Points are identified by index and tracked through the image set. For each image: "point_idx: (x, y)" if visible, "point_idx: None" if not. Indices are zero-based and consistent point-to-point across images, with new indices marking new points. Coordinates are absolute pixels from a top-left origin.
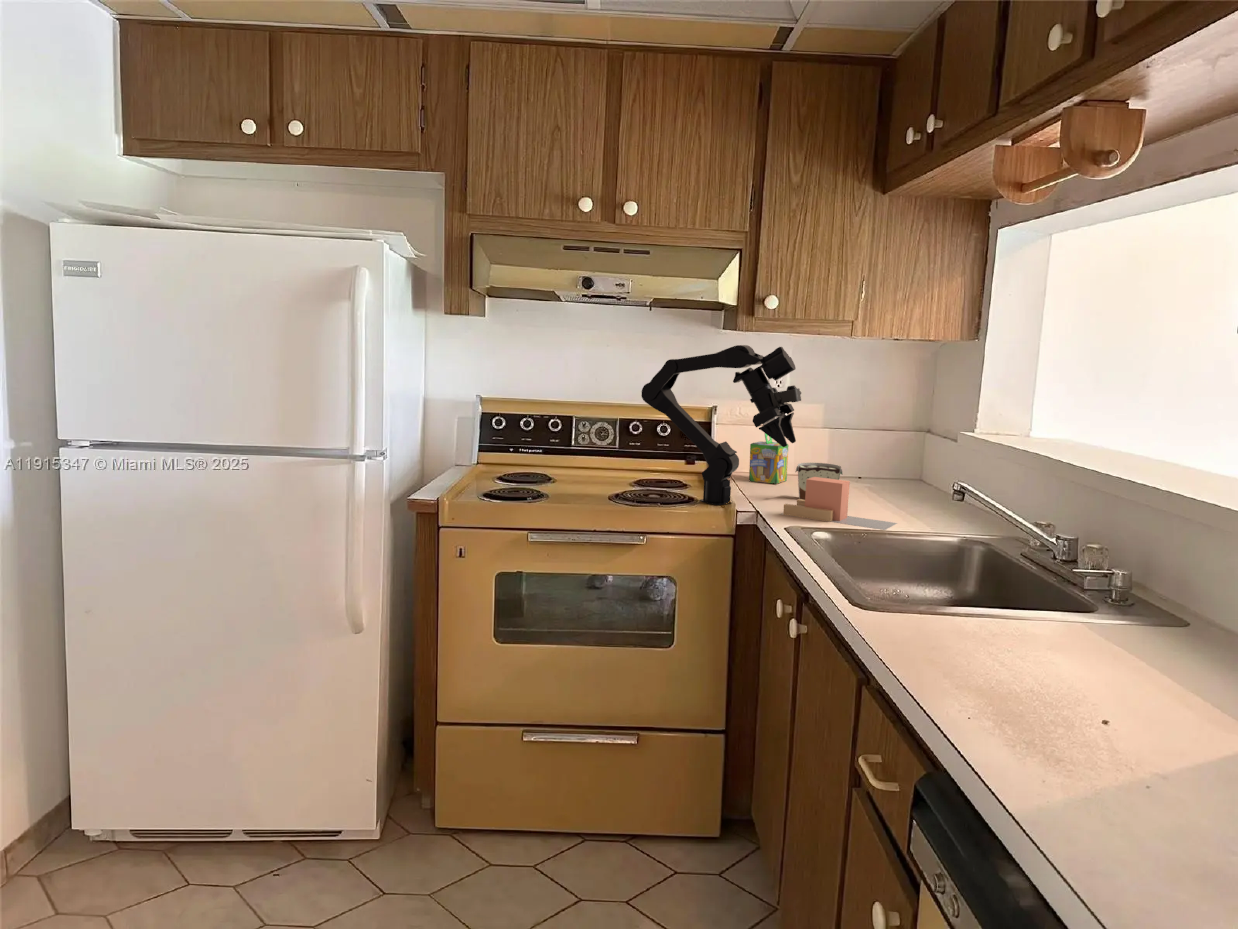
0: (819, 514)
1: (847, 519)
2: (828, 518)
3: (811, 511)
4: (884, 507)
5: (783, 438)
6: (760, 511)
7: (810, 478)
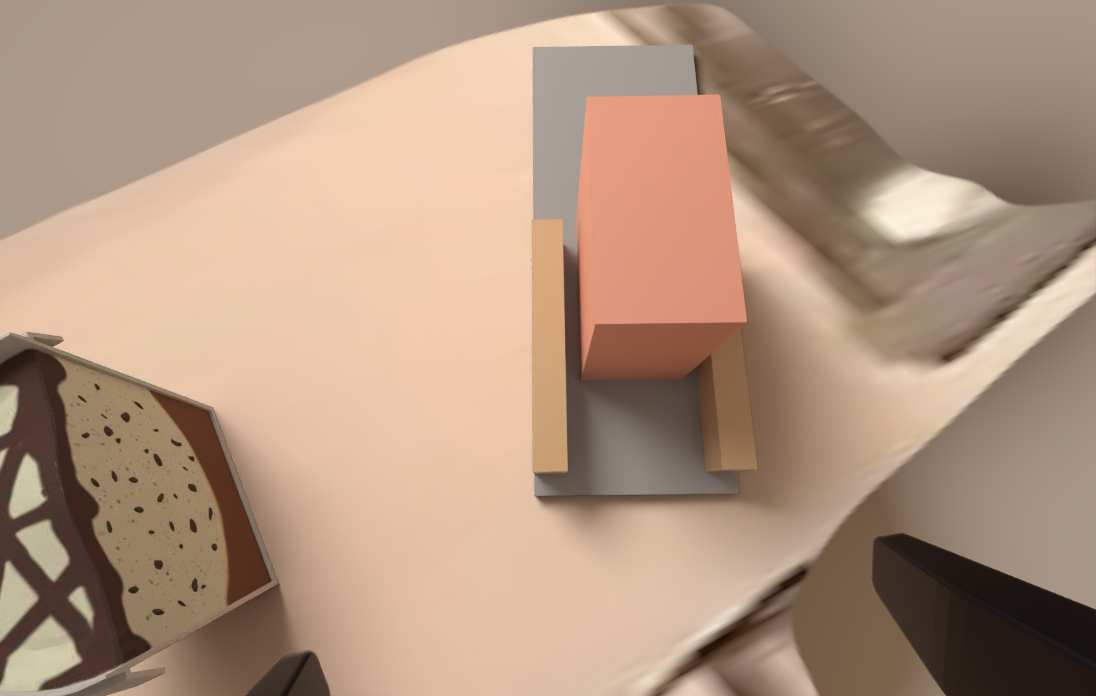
0: None
1: None
2: None
3: None
4: (169, 199)
5: (1052, 601)
6: (691, 639)
7: (690, 314)
